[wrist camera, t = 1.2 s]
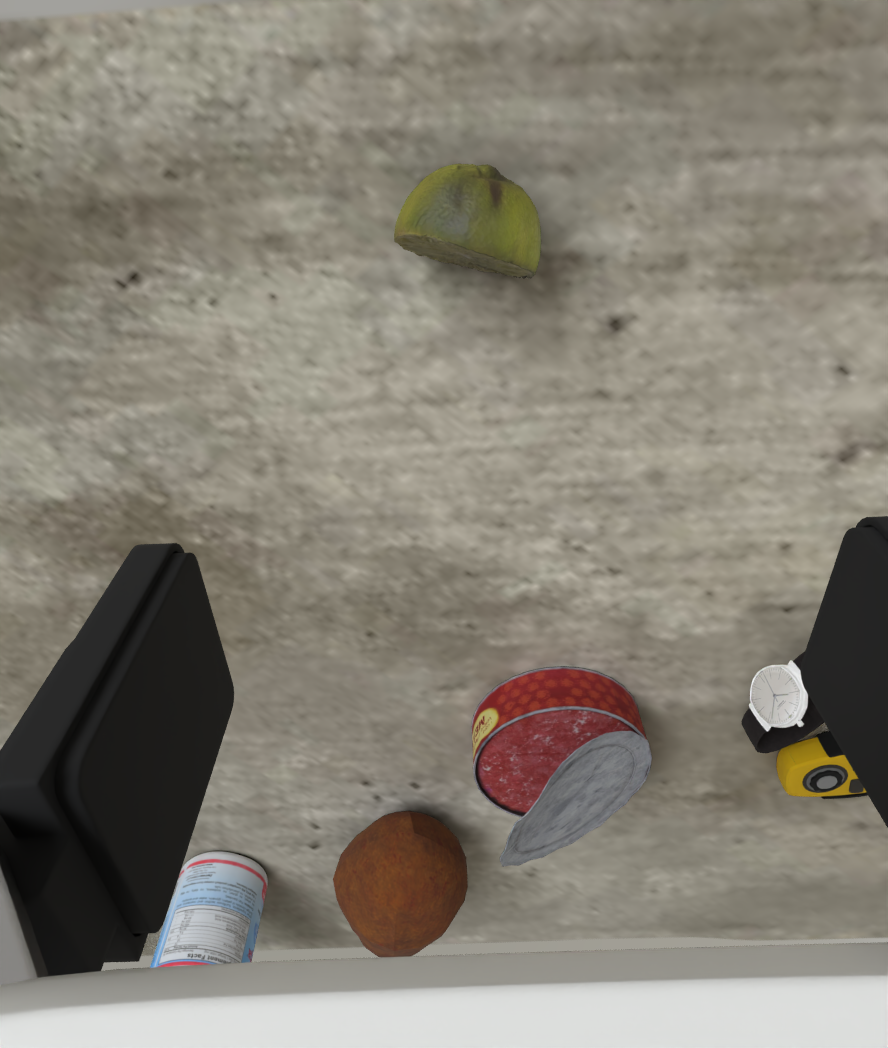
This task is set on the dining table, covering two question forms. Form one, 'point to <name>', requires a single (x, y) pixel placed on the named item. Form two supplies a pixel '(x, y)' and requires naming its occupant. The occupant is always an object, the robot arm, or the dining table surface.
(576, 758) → the canned food
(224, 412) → the dining table surface
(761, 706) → the watch
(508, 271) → the lime
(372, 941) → the potato
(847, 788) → the yellow walkie talkie
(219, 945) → the pill bottle
